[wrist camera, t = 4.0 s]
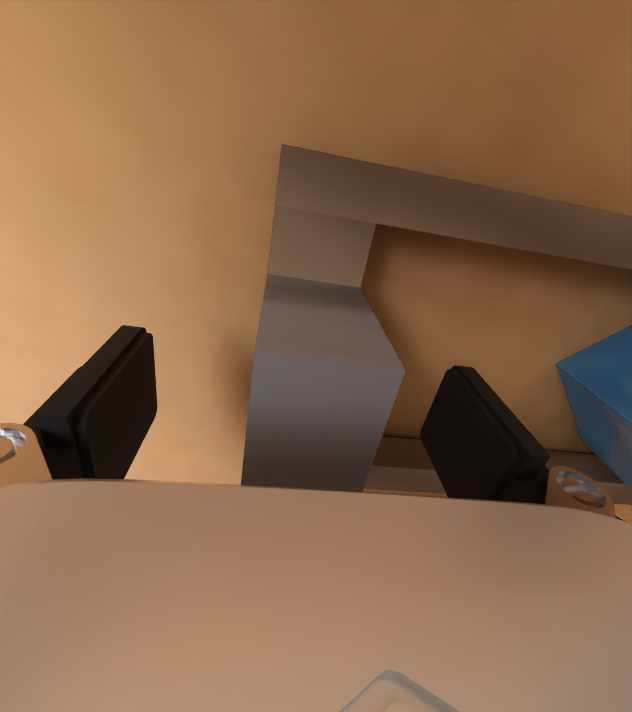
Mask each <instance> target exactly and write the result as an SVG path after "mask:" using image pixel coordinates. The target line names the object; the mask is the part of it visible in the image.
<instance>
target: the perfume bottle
mask: <svg viewBox="0 0 632 712" xmlns="http://www.w3.org/2000/svg"><path fill="white" fill-rule="evenodd" d="M556 365H557V368H558V371H559V374H560V377H561V380H562V383H563V386H564V389H565V392H566V395H567V398H568V401H569V404H570V407H571V410H572V413H573V416H574V419H575V422H576V425H577V428H578V431H579V434H580V437H581V440H582V442H583V443H584V444H585V445H586V446H587V447H588V448H589V449H590V450H591V451H592V452H593V453H594V454H595V455H596V456H597V457H599V458H600V459H601V460H602V461H603V462H604V463H605V464H606V465H607V466H608V467H609V468H610V469H611V470H612V471H613V472H614V473H615V474H616V475H617V476H618V477H619V478H620V479H621V480H622V481H623V482H624V483H625V484H626V485H627V486H628V487H629V488H630V489H631V490H632V325H631V326H629V327H627V328H625V329H623V330H621V331H619V332H617V333H615V334H613V335H611V336H609V337H607V338H605V339H603V340H601V341H599V342H597V343H596V344H594V345H592V346H590V347H588V348H586V349H584V350H582V351H580V352H578V353H576V354H574V355H572V356H570V357H568V358H566V359H564V360H562V361H560V362H558V363H556Z"/></svg>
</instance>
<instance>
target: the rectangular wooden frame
mask: <svg viewBox="0 0 632 712" xmlns="http://www.w3.org/2000/svg"><path fill="white" fill-rule="evenodd" d="M376 224H382V225H387V226H393V227H399V228H404V229H410V230H415V231H421V232H426V233H432V234H437V235H443V236H448V237H454V238H459V239H465V240H471V241H476V242H482V243H487V244H493V245H498V246H504V247H509V248H515V249H520V250H526V251H531V252H537V253H543V254H548V255H554V256H559V257H565V258H570V259H576V260H581V261H587V262H592V263H598V264H603V265H609V266H615V267H620V268H626V269H631V270H632V217H631V216H626V215H621V214H616V213H611V212H607V211H602V210H597V209H592V208H587V207H583V206H578V205H573V204H568V203H563V202H558V201H554V200H549V199H544V198H539V197H534V196H529V195H525V194H520V193H515V192H510V191H505V190H501V189H496V188H491V187H486V186H481V185H476V184H472V183H467V182H462V181H457V180H452V179H448V178H443V177H438V176H433V175H428V174H423V173H419V172H414V171H409V170H404V169H399V168H394V167H390V166H385V165H380V164H375V163H370V162H366V161H361V160H356V159H351V158H346V157H341V156H337V155H332V154H327V153H322V152H317V151H312V150H308V149H303V148H298V147H293V146H288V145H284V144H282V147H281V156H280V165H279V175H278V184H277V193H276V202H275V211H274V221H273V230H272V239H271V248H270V257H269V266H268V275H267V281H266V287H265V293H264V298H263V304H262V310H261V316H260V322H259V328H258V334H257V340H256V345H255V351H254V360H253V370H252V380H251V390H250V400H249V409H248V419H247V429H246V439H245V449H244V459H243V469H242V479H241V485H248V486H266V487H285V488H302V489H319V490H336V491H353V492H362V491H363V488H367V489H383V490H400V491H416V492H432V493H446V492H445V490H444V488H443V486H442V483H441V481H440V479H439V477H438V475H437V473H436V471H435V468H434V466H433V464H432V462H431V460H430V458H429V456H428V454H427V451H426V449H425V447H424V445H423V443H422V441H421V440H420V439H408V438H397V437H385V436H382V435H383V433H384V430H385V427H386V424H387V422H388V419H389V416H390V413H391V410H392V408H393V405H394V402H395V399H396V397H397V394H398V391H399V388H400V385H401V383H402V380H403V377H404V374H405V371H406V370H405V369H404V367H403V365H402V363H401V361H400V359H399V358H398V356H397V354H396V352H395V350H394V348H393V347H392V345H391V343H390V341H389V339H388V337H387V336H386V334H385V332H384V330H383V328H382V326H381V325H380V323H379V321H378V319H377V317H376V316H375V314H374V312H373V310H372V308H371V306H370V305H369V303H368V301H367V299H366V297H365V295H364V294H363V292H362V290H361V288H360V287H361V283H362V279H363V275H364V271H365V267H366V263H367V259H368V255H369V251H370V247H371V243H372V239H373V235H374V231H375V227H376ZM545 451H546V452H547V453H548V454H549V455H550V456H551V457H550V459H549V460H548V462H547V463H546V464H545V466H546V467H547V468H548V469H549V471H550V469H551V468H553V467H555V466H564V467H568V468H572V469H574V470H577V471H579V472H581V473H583V474H585V475H586V476H588V477H590V478H591V479H593V480H594V481H595V482H597V483H598V484H599V485H600V486H601V487H602V488H603V489H604V490H605V491H606V492H607V493H608V494H609V496H610V497H611V499H612V501H613V504H628V505H632V490H631V489H630V488H629V487H628V486H627V485H626V484H625V483H624V482H623V481H622V480H621V479H620V478H619V477H618V476H617V475H616V474H615V473H614V472H613V471H612V470H611V469H610V468H609V467H608V466H607V465H606V464H605V463H604V462H603V461H602V460H601V459H600V458H599V457H597V456H596V455H595V454H584V453H572V452H561V451H549V450H545Z"/></svg>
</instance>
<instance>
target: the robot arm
mask: <svg viewBox="0 0 632 712" xmlns="http://www.w3.org/2000/svg"><path fill="white" fill-rule="evenodd" d="M156 412H157V394H156V378H155V362H154V346H153V336H152V334H151V333H147V332H146V329H145V328H142V327H134V326H126V325H123V326H121V327H120V328H119V329H118V330H117V331H116V332H115V333H114V334H113V335H112V336H111V337H110V338H109V339H108V340H107V341H106V343H105V344H104V345H103V346H102V347H101V348H100V349H99V350H98V351H97V352H96V353H95V354H94V355H93V356H92V357H91V358H90V359H89V360H88V361H87V362H86V363H85V364H84V365H83V366H81V367H80V368H78V369H77V370H76V371H75V372H74V373H73V374H72V375H71V376H70V377H69V378H68V379H67V380H66V381H65V382H64V383H63V384H62V385H61V386H60V387H59V388H58V389H57V390H56V391H55V392H54V393H53V394H52V395H51V396H50V398H49V399H48V400H47V401H46V402H45V403H44V404H43V405H42V406H41V407H40V408H39V409H38V410H37V411H36V412H35V413H34V414H33V415H32V416H31V417H30V418H29V419H28V420H27V421H26V422H25V423H24V424H23V425H22V424H15V423H2V424H0V712H632V524H630V523H627V522H626V521H624V520H622V519H620V518H619V517H617V516H615V509H614V504H613V501H612V499H611V497H610V496H609V494H608V493H607V492H606V491H605V490H604V489H603V488H602V487H601V486H600V485H599V484H598V483H597V482H595V481H594V480H593V479H591V478H590V477H588V476H586V475H585V474H583V473H581V472H579V471H577V470H574V469H572V468H568V467H564V466H555V467H553V468H551V469H550V471H549V469H548V468H547V467H546V466H545V464H546V463H547V462H548V460H549V459H550V457H551V456H550V455H549V454H548V453H547V452H546V451H545V449H544V448H543V447H542V446H541V445H540V444H539V443H538V441H537V440H536V439H535V438H534V437H533V436H532V435H531V433H530V432H529V431H528V430H527V429H526V428H525V427H524V425H523V424H522V423H521V422H520V421H519V420H518V418H517V417H516V416H515V415H514V414H513V413H512V412H511V410H510V409H509V408H508V407H507V406H506V405H505V404H504V402H503V401H502V400H501V399H500V398H499V397H498V396H497V394H496V393H495V392H494V391H493V390H492V389H491V388H490V386H489V385H488V384H487V383H486V382H485V381H484V379H483V378H482V377H481V376H480V375H479V374H478V373H477V371H476V370H475V369H474V368H472V367H464V366H453V367H452V368H451V369H448V370H447V371H446V373H445V375H444V377H443V380H442V382H441V384H440V387H439V389H438V391H437V394H436V396H435V398H434V401H433V403H432V405H431V408H430V410H429V412H428V415H427V417H426V419H425V422H424V424H423V426H422V429H421V433H420V435H421V441H422V443H423V445H424V447H425V449H426V451H427V454H428V456H429V458H430V460H431V462H432V464H433V466H434V468H435V471H436V473H437V475H438V477H439V479H440V481H441V483H442V486H443V488H444V490H445V492H446V494H447V496H448V498H447V497H432V496H417V495H402V494H385V493H369V492H353V491H336V490H319V489H302V488H285V487H266V486H248V485H229V484H211V483H192V482H173V481H155V480H130V479H124V478H125V476H126V474H127V472H128V470H129V468H130V466H131V464H132V462H133V460H134V458H135V456H136V454H137V452H138V450H139V448H140V446H141V444H142V442H143V440H144V438H145V436H146V434H147V432H148V430H149V428H150V426H151V424H152V422H153V420H154V418H155V416H156Z"/></svg>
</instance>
